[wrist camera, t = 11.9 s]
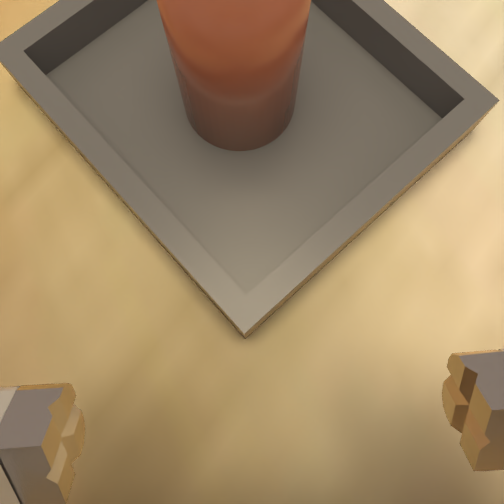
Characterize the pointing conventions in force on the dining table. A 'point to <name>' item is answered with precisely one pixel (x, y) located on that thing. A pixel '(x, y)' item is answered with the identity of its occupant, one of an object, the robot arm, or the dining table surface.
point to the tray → (257, 160)
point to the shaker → (237, 66)
